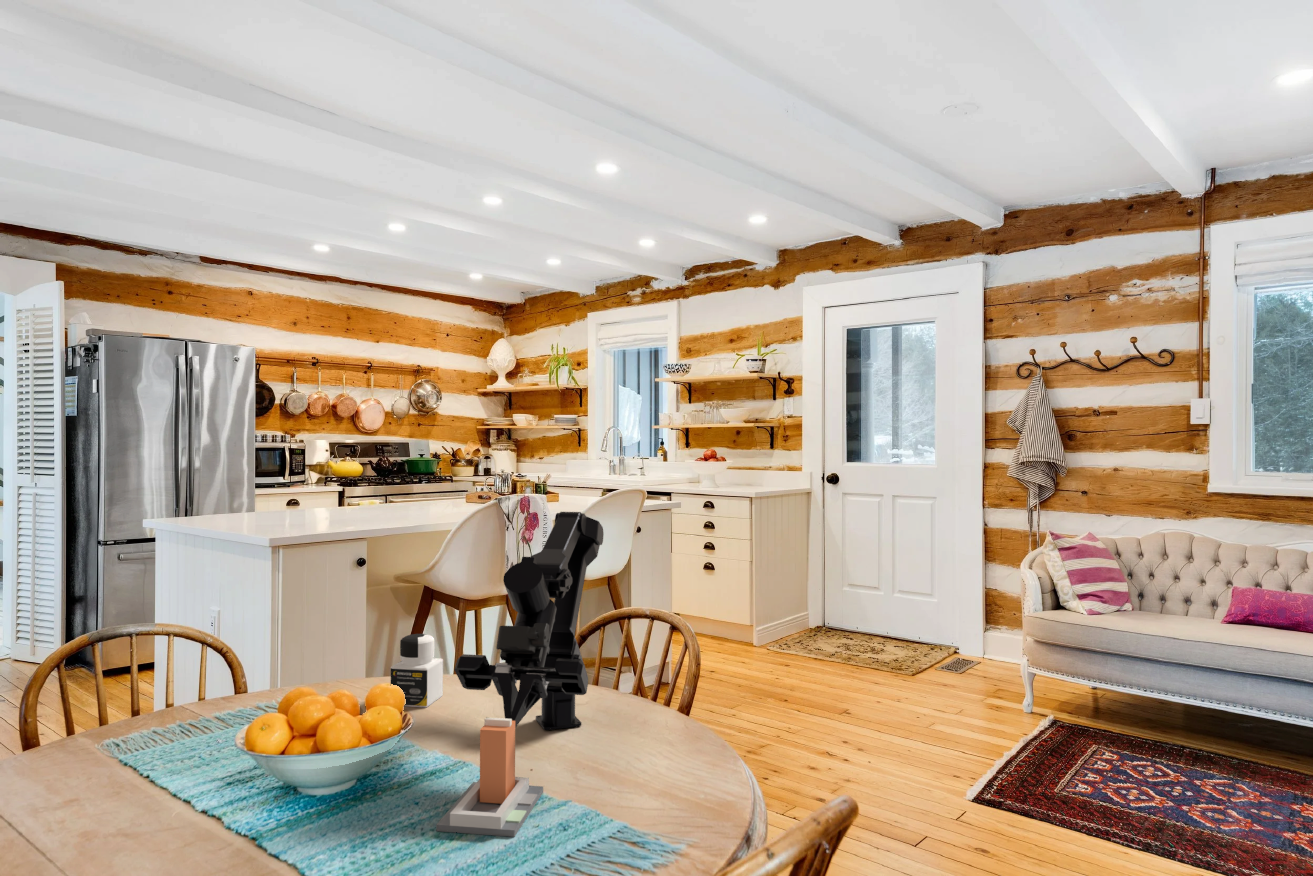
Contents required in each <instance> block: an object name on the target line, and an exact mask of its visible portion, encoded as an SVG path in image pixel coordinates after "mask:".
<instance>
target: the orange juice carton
mask: <svg viewBox="0 0 1313 876" xmlns="http://www.w3.org/2000/svg"><path fill="white" fill-rule="evenodd" d="M483 723H484V724H483V726H482V727H481V728H480V729H479V738H480V739H479V779H480V802H485V803H500V804H502V803H503V802H504V801H505V799H506V798H507V797H508V795H509V794H510V793H511V791H512V790H513V789H514V787H515V777H516V728H515V721H512V719H507V718H505V717H503V718H502V717H487V716H486V717H485V718H484V722H483Z"/></svg>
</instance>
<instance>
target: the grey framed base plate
mask: <svg viewBox="0 0 1313 876" xmlns="http://www.w3.org/2000/svg"><path fill="white" fill-rule="evenodd" d="M529 778H530V777H522V776H515V787H514V789H513V790H512V791H511V793H510V794H509V795H508V797H507V798H506V799H505V801H504V802H503V803H502V804H500V803H485V802H480V778H479V779H478V780H477V781H473V782H472V783H471V784H470V785H469V787H467V788H466V790H465V791H464V792H463V793H462V794H461V796H460V797H459V798H458V799H457V800H456V801H455V803H453V804H452V806H451V807H450V808H449V810H448V811H447V812H445V814H444V815H443V816H442V818H440V820H439V821H438V822H437V823H436V824H435V825H436V827H435V830H436V832H443V833H444V832H446V833H456V832H457V833H459V834H460V833H461V834H471V835H483V836H485V835H486V836H500V837H512V838H515V837H516V835H517V834H518V832H519V831H520V829H521V827H522V826H523V825H524V823H525V821H526V819H528V817H529V815H530V814H531V812H533V811H532V810H533V809H534V807H535V805H536V804H537V803H538V801H539V800H540V798H541V797H542V795H543V794H544V786H541V785H540V786H539V785H529V784H530V779H529Z"/></svg>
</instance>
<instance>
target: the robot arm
mask: <svg viewBox="0 0 1313 876" xmlns="http://www.w3.org/2000/svg"><path fill="white" fill-rule="evenodd" d="M603 543H604V527H603V525H602V524H601V523H600V521H599V520H597V519H594V518H593V517H589V516H587V515H586V513H583V512H582V511H560V512H557V513H556V514H555V516H554V525H553V527H552V529H551V531H550V532H549V535H548V537H547V539H546V541H545V543H544V545H543V547H542V549H541V551H540V552H537V553H535V554H532V555H530V556H522V557H521V561H520V562H517V563H516V564H514V565H512V566H510V568H508V569H507V570H506V572H504V575H503V578H502V579H503V585H504V587H505V590H506V593H507V596H508V598H509V600H510V603H511V604H510V605H511V606H512V609H513V611H515V612H517V614H516V619H515V622H514V625H499V627H498V628H499V629H498V633H497V642H496V646H495V647H496V650H500V654H499V657H500V659H501V661H504V662H495V664H490V663H489V660H488V658H487V655H486V654H484V655H483V654H469V653H468V654H465V653H464V654H461V655H460V656H459V657H458V658H457V659H456V662H455V666H454V673H455V674H456V676H457V678H458V681H459V682H460V684H461V687H463V689H466V690H471V691H472V690H474V691H485V690H486V689H488V688H489V687H490V686H491V685H492V683H493V684H494V687H495V689H496V692H497V694H498V696H501V697H502V702H503V711H504V715H503V716H504V718H507V719H512V721H515V729H516V728H517V726H518V725H519V724H520V722H521V721H522V720H523V719H524V717H525V716H526V715H527V713H528V712H529V711H530V710H531V709H532V707H534V706H535V705H536V703H537V702H538V701H539V700H540V699H541V715H540V714H539V715H536V716H535V720H536V721H537V723H538V724H539V725H540V726H541V728H542V729H543V730H544V731H551V730H553V731H554V730H559V729H567V728H575V727H581V726H582V721H580V719H579V718H578V717H577V716H576V696H584V695H586V694H587V691H588V686H589V676H588V672H587V669H586V666H585V663H584V660H583V656H582V654H581V649H580V648H579V644H578V641H577V638H576V636H575V635H576V629H577V624H578V623H577V622H578V618H579V612H580V607H581V601H582V595H583V590H584V584H585V580H586V573H587V568H588V567H589V566H590V564H591V563H593V561H595V560H596V558H598V555H599V551H600V550H599V549H600V546H602V545H603ZM552 599H554V601H553V600H552ZM518 681H519V688H517V686H516V685H517V682H518Z"/></svg>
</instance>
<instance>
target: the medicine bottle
mask: <svg viewBox="0 0 1313 876" xmlns="http://www.w3.org/2000/svg"><path fill="white" fill-rule="evenodd" d="M399 644H400V645H399V647H400V648H399V650H400V651H399V653H400V654H399V658H400V659H399V660H401V661H399V662H397V663H395V664H393V665H391V666H390V685H391V684H393V685H397V686H399V687H400V688H401V689H402V690H403V692H404V694H405V699H406V704H405V706H404V707H413V708H428V707H429V706H430V705H433V704H434V703H435V702H436V701H437V700H439V699H440V698H441V697H443V695H444V693H443V692H444V680H443V679H444V659H443V658H441V657H439V658H437V657H435V638H434V637H433V636H432V635H430V634H428V633H415V634H414V633H412V634H409V635H406V636H404V637H402V638H401V639H400V642H399Z"/></svg>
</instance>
